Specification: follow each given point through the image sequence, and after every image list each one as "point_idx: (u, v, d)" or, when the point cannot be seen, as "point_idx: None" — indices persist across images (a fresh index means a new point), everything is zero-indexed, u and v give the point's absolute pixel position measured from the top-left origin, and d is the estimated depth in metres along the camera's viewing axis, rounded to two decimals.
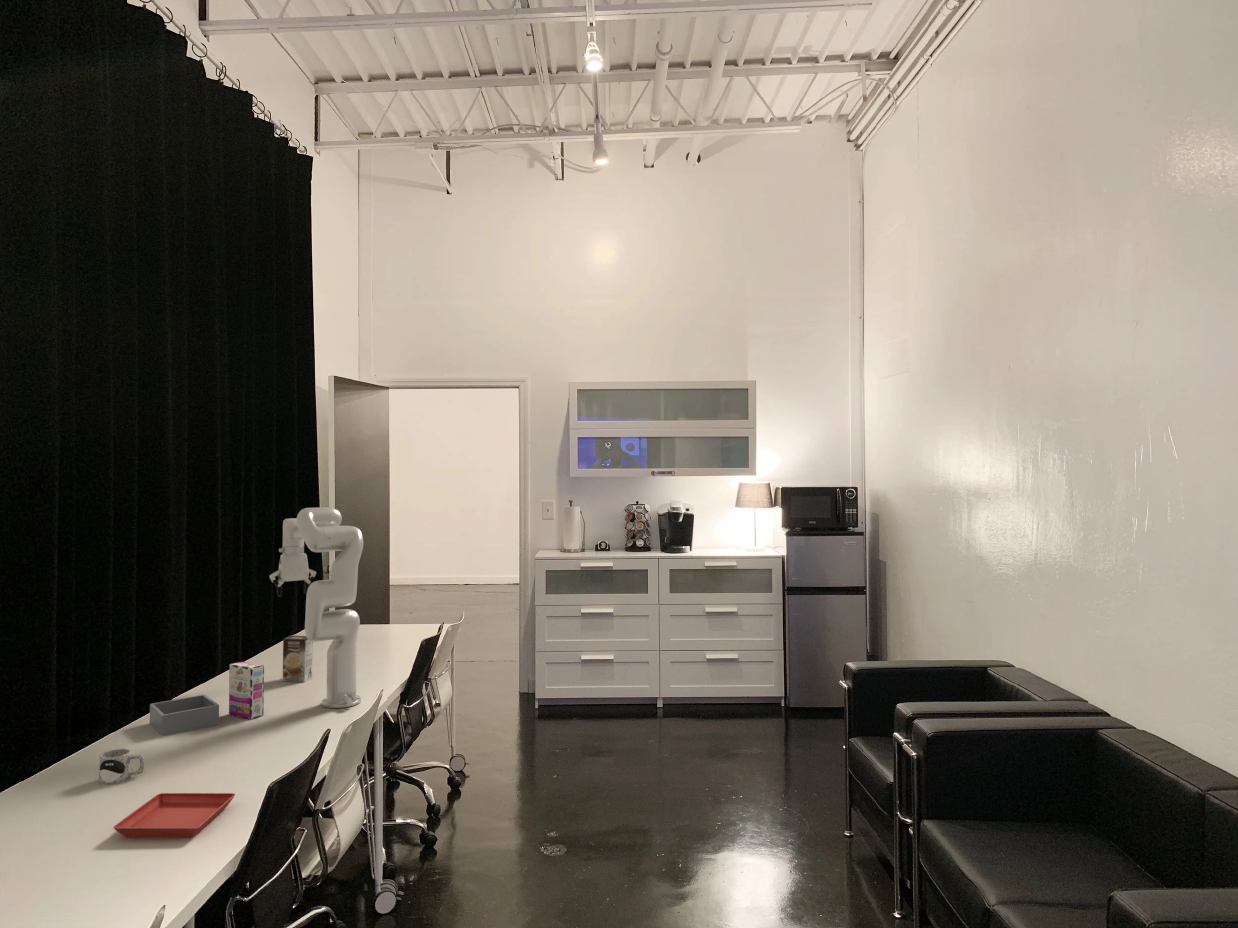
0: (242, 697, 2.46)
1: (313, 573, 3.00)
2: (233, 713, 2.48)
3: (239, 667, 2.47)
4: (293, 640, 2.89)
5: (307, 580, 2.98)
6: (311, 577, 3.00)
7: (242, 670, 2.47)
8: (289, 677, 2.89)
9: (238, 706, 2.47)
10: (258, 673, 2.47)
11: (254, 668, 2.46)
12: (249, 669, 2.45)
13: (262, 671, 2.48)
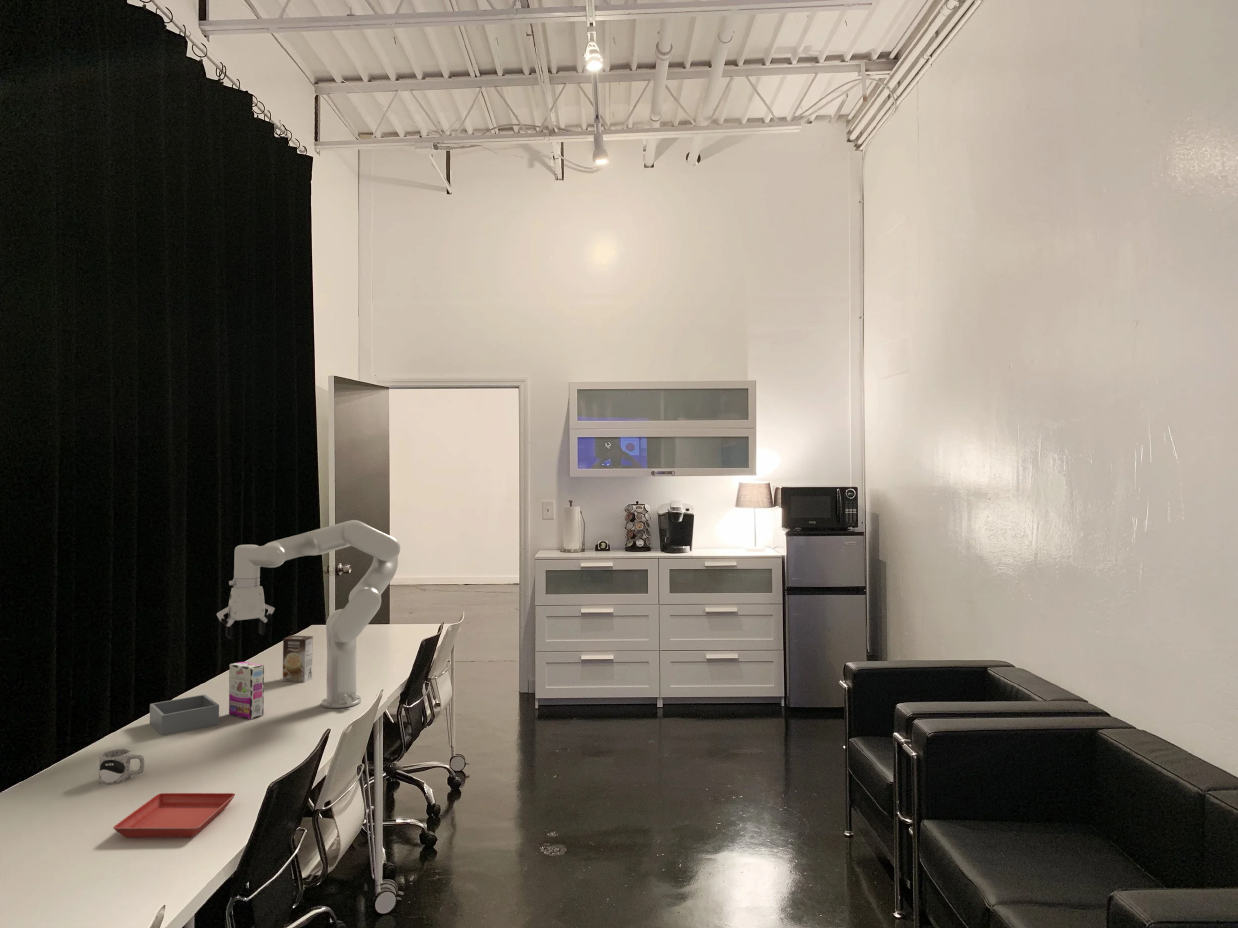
0: (242, 697, 2.46)
1: (271, 609, 2.54)
2: (233, 713, 2.48)
3: (239, 667, 2.47)
4: (293, 640, 2.89)
5: (263, 618, 2.52)
6: (268, 614, 2.53)
7: (242, 670, 2.47)
8: (289, 677, 2.89)
9: (238, 706, 2.47)
10: (258, 673, 2.47)
11: (254, 668, 2.46)
12: (249, 669, 2.45)
13: (262, 671, 2.48)
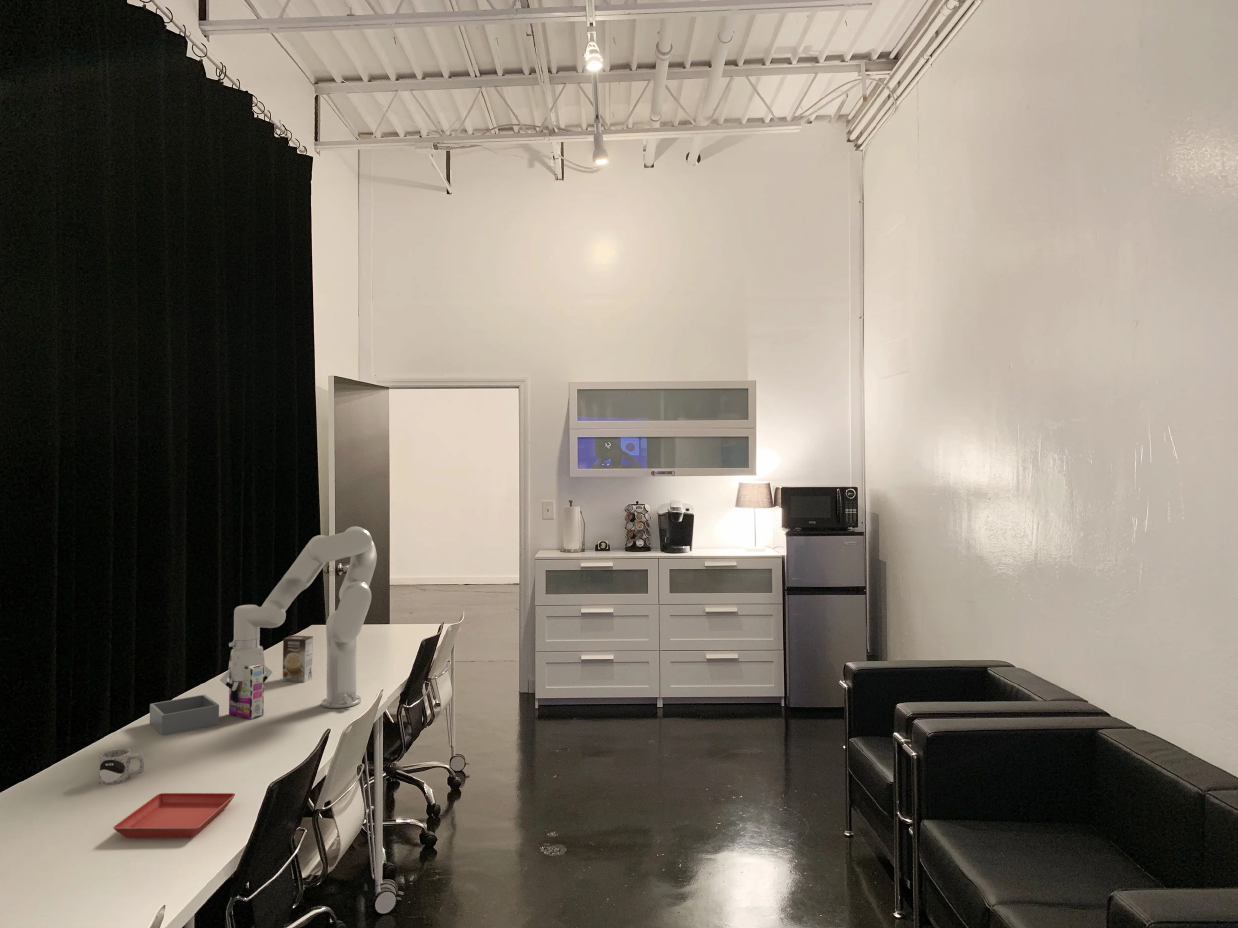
0: (242, 697, 2.46)
1: (268, 672, 2.53)
2: (233, 713, 2.48)
3: None
4: (293, 640, 2.89)
5: None
6: (264, 677, 2.52)
7: None
8: (289, 677, 2.89)
9: (238, 706, 2.47)
10: (258, 673, 2.47)
11: (254, 668, 2.46)
12: (249, 669, 2.45)
13: (262, 671, 2.48)
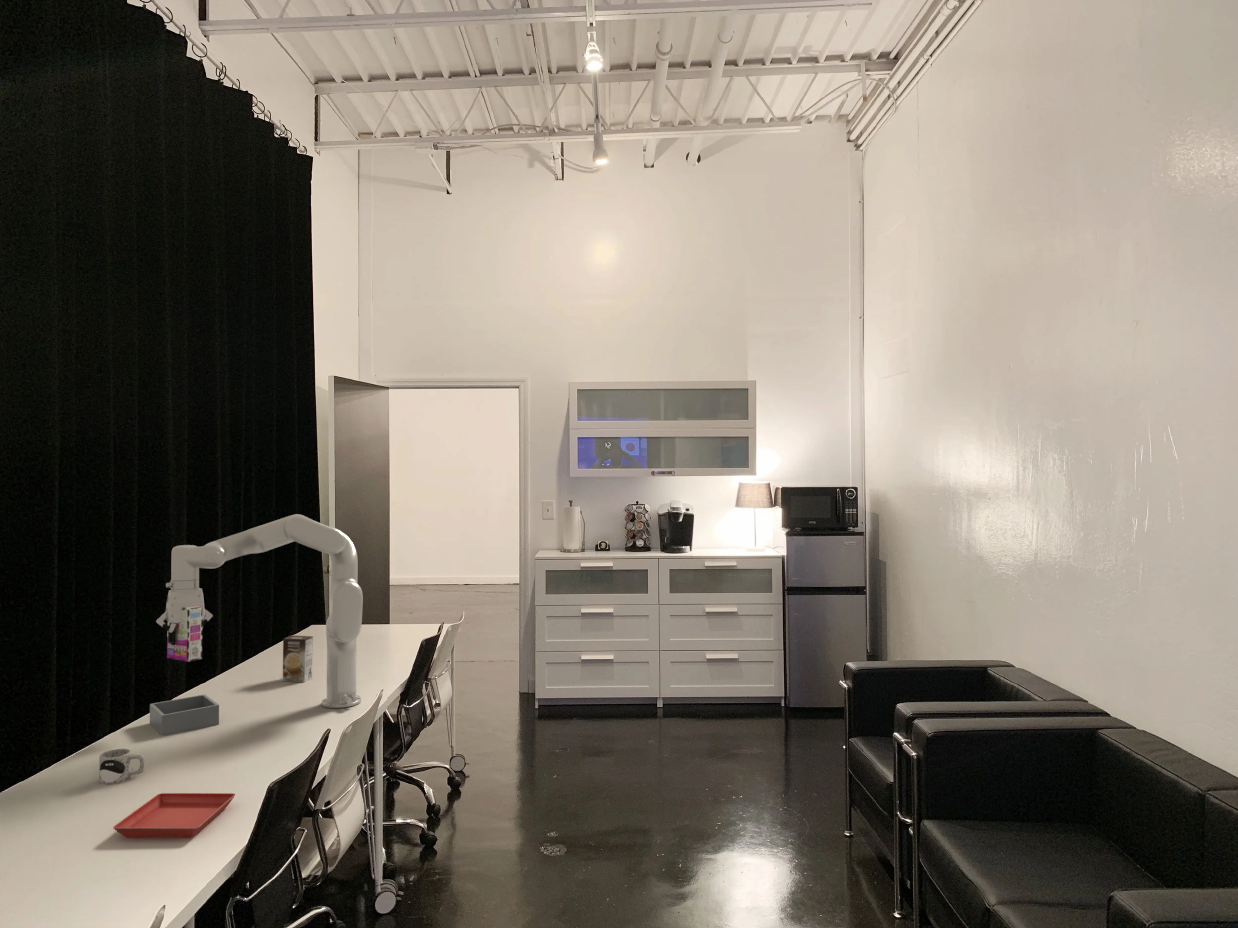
0: (180, 639, 2.38)
1: (208, 616, 2.45)
2: (171, 656, 2.40)
3: None
4: (293, 640, 2.89)
5: None
6: (204, 620, 2.44)
7: None
8: (289, 677, 2.89)
9: (175, 648, 2.39)
10: (196, 615, 2.38)
11: (191, 609, 2.37)
12: (186, 610, 2.37)
13: (200, 613, 2.40)
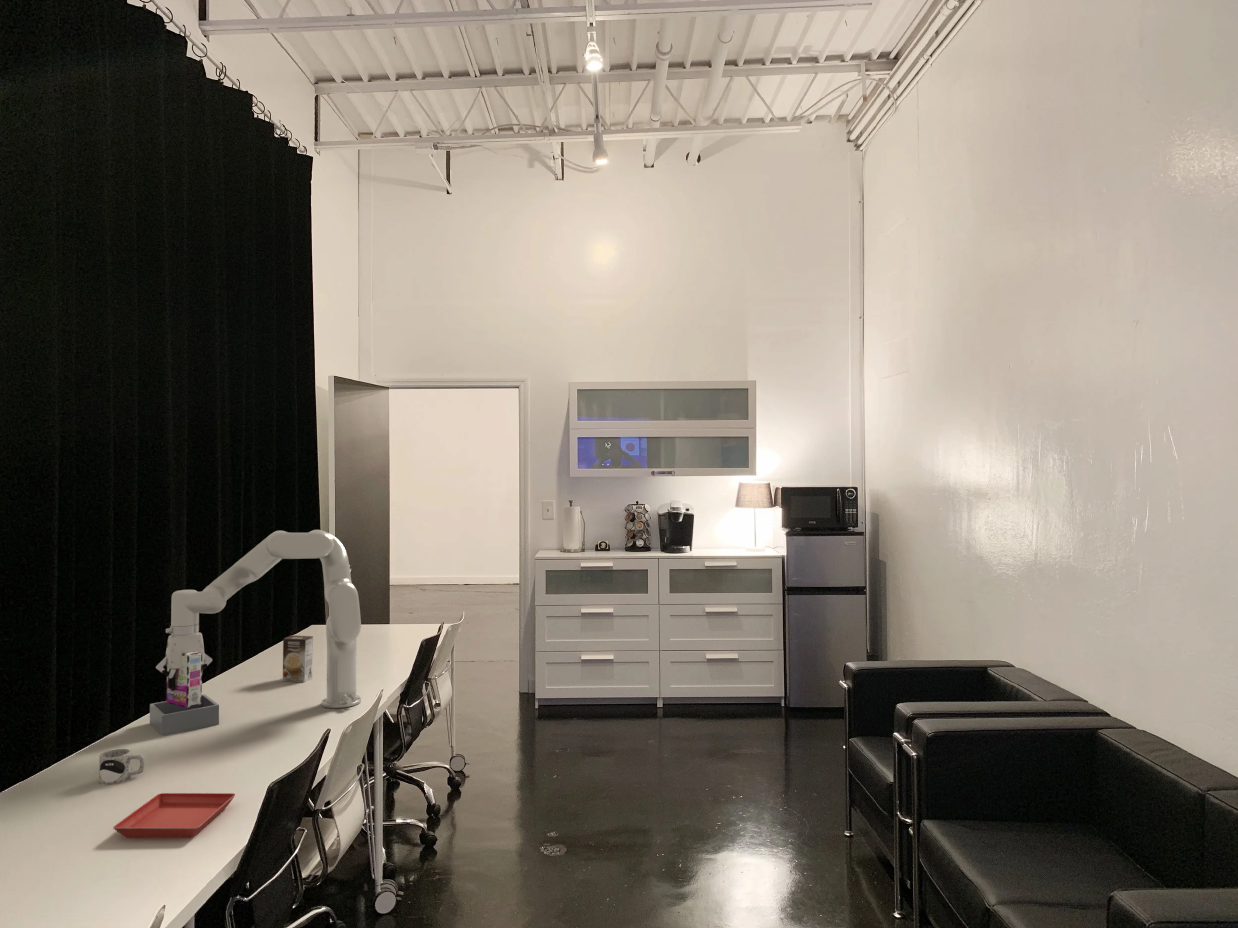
0: (179, 685, 2.38)
1: (208, 660, 2.45)
2: (170, 701, 2.40)
3: None
4: (293, 640, 2.89)
5: None
6: (203, 665, 2.44)
7: None
8: (289, 677, 2.89)
9: (175, 694, 2.39)
10: (195, 660, 2.38)
11: (191, 655, 2.37)
12: (185, 656, 2.37)
13: (200, 658, 2.40)
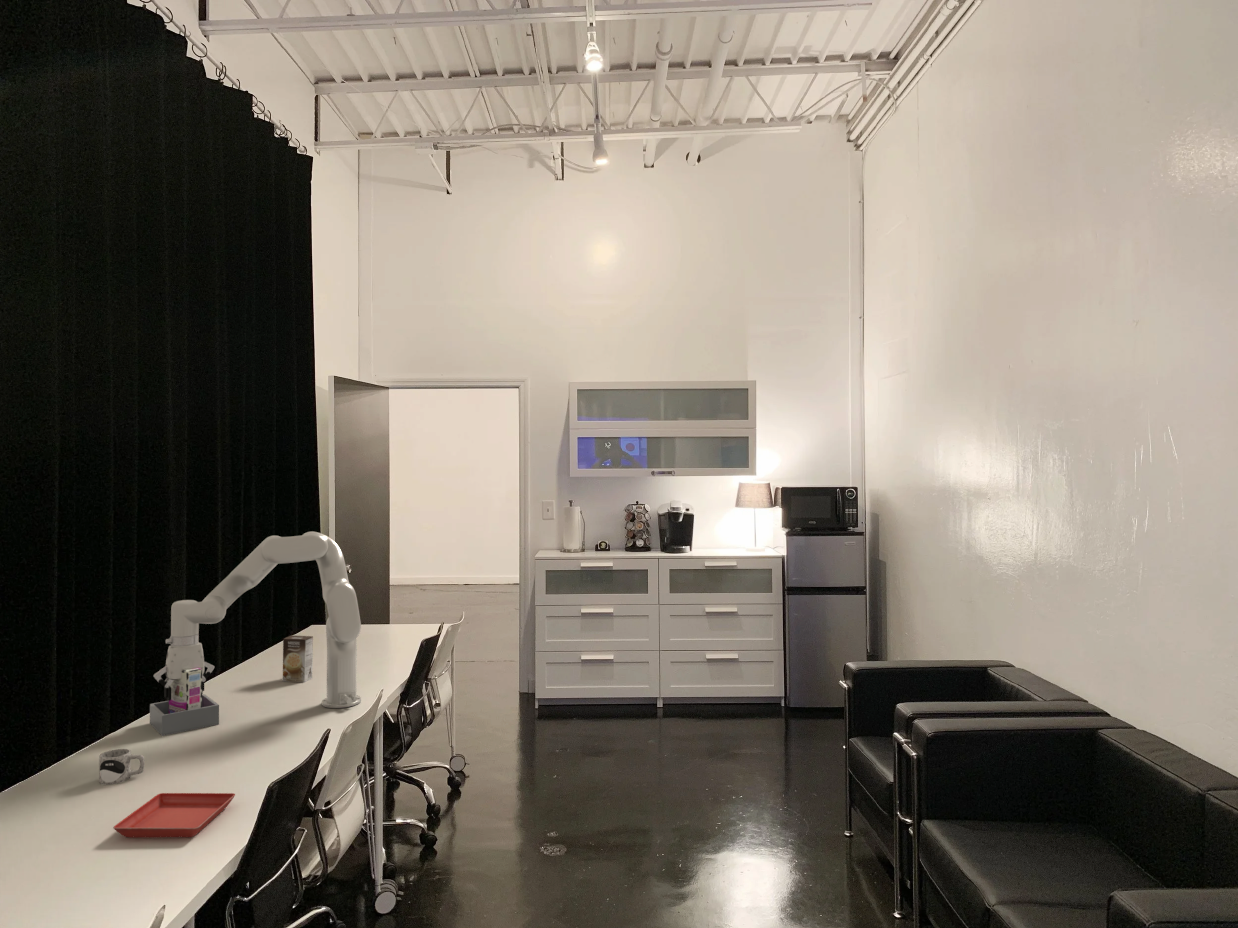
0: (179, 701, 2.38)
1: (210, 668, 2.45)
2: None
3: None
4: (293, 640, 2.89)
5: None
6: (207, 673, 2.44)
7: None
8: (289, 677, 2.89)
9: (176, 710, 2.39)
10: (195, 677, 2.38)
11: (190, 672, 2.37)
12: (185, 673, 2.36)
13: (200, 675, 2.39)
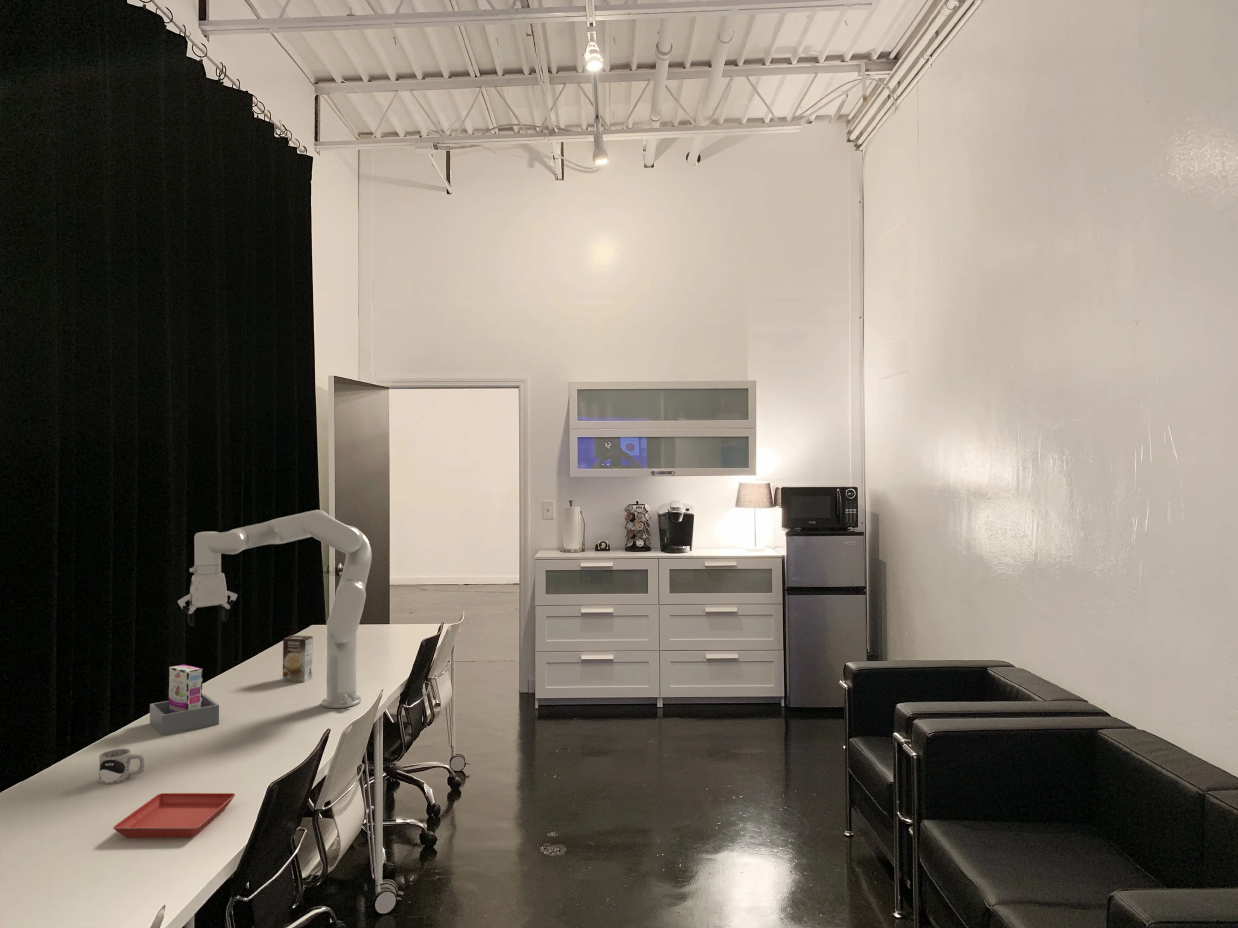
0: (180, 701, 2.38)
1: (233, 596, 2.53)
2: None
3: (177, 670, 2.39)
4: (293, 640, 2.89)
5: (226, 604, 2.51)
6: (231, 601, 2.53)
7: (180, 674, 2.38)
8: (289, 677, 2.89)
9: (176, 710, 2.39)
10: (195, 677, 2.38)
11: (191, 672, 2.37)
12: (185, 673, 2.37)
13: (200, 675, 2.39)
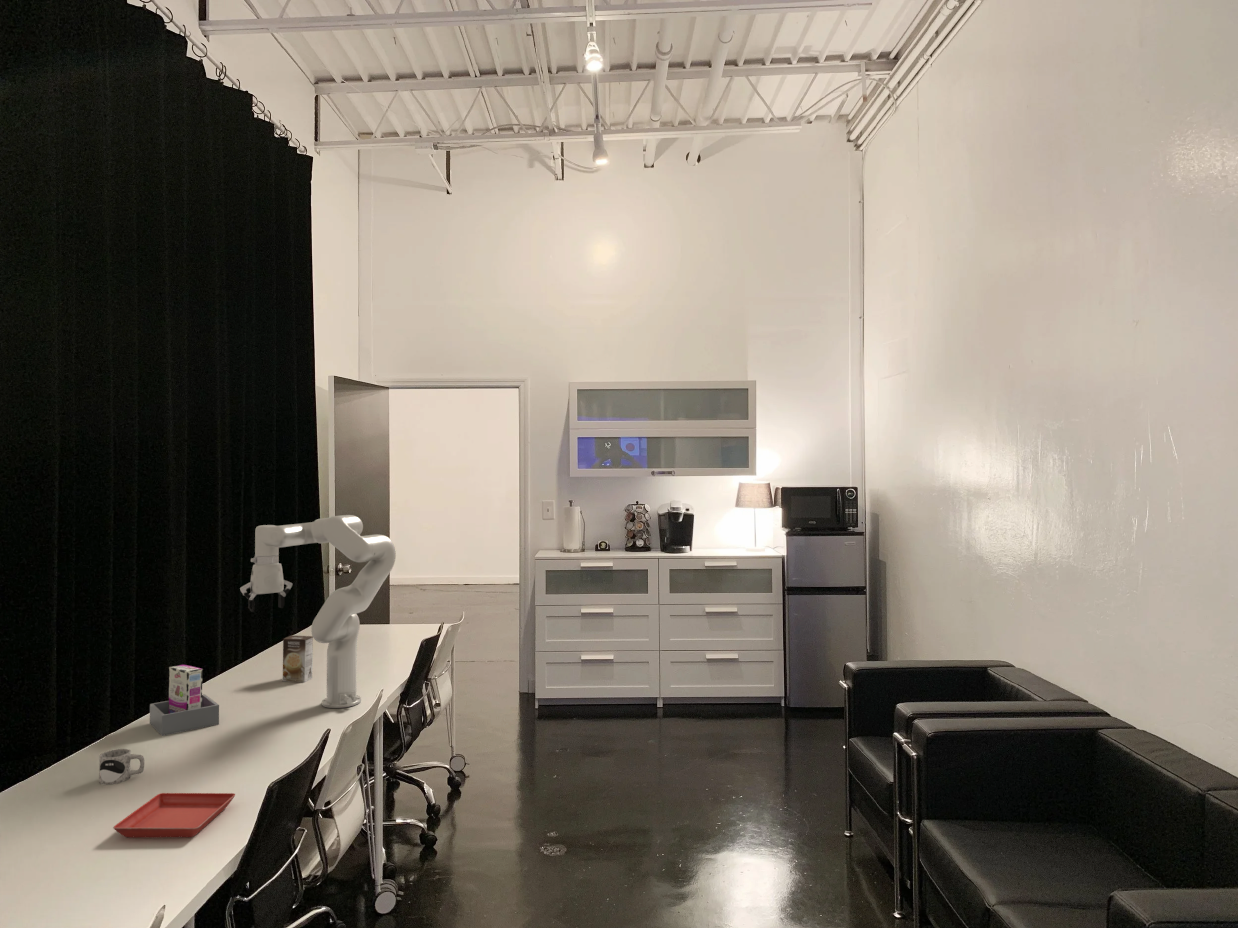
0: (180, 701, 2.38)
1: (289, 585, 2.75)
2: None
3: (177, 670, 2.39)
4: (293, 640, 2.89)
5: (282, 592, 2.73)
6: (286, 589, 2.75)
7: (180, 674, 2.38)
8: (289, 677, 2.89)
9: (176, 710, 2.39)
10: (195, 677, 2.38)
11: (191, 672, 2.37)
12: (185, 673, 2.37)
13: (200, 675, 2.39)
